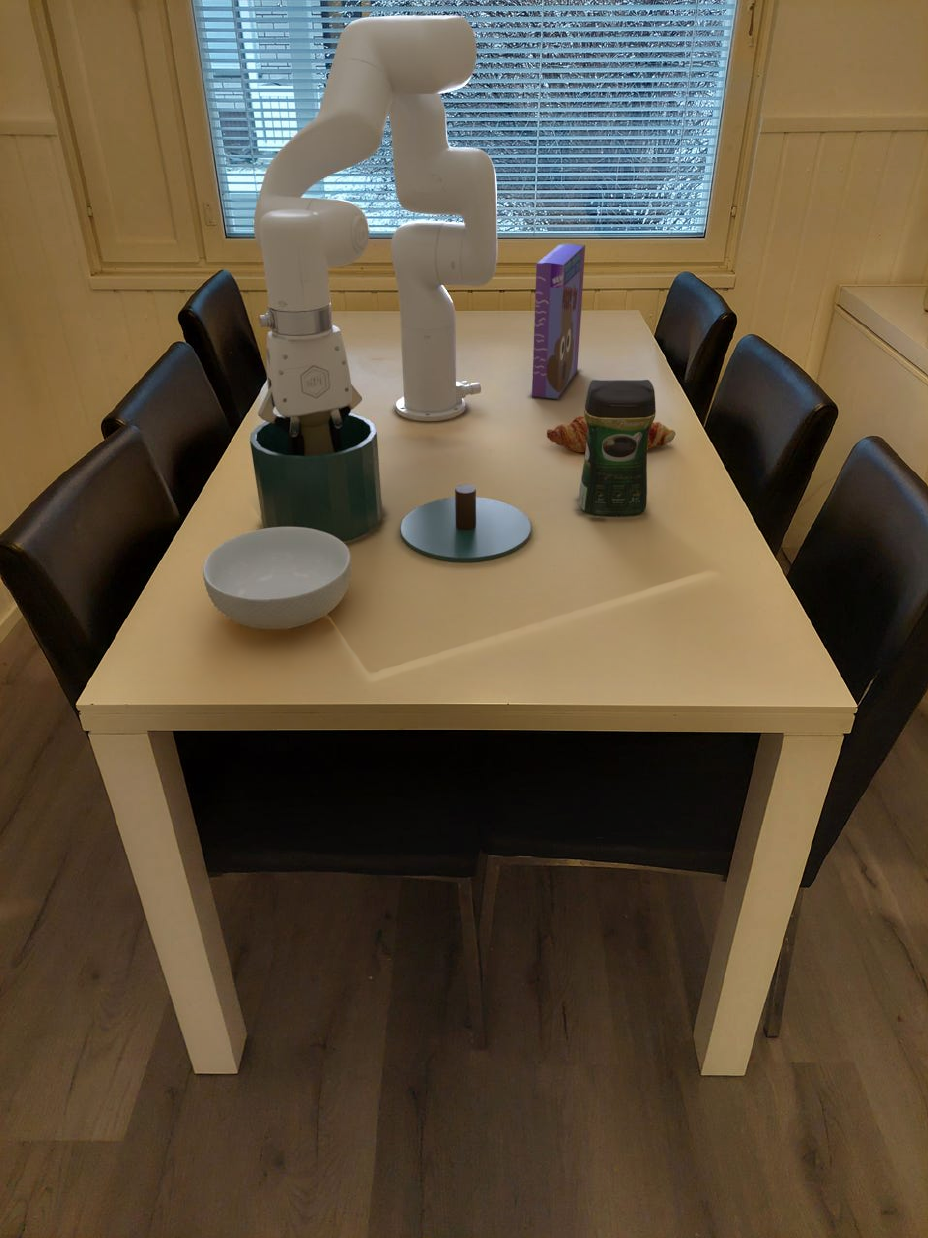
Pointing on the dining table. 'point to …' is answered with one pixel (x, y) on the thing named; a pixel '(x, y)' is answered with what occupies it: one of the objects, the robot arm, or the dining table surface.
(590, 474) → the coffee jar
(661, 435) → the croissant
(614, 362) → the dining table surface
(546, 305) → the cereal box
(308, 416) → the olive brown pawn
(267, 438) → the tin
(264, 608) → the cereal bowl
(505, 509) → the tin lid
